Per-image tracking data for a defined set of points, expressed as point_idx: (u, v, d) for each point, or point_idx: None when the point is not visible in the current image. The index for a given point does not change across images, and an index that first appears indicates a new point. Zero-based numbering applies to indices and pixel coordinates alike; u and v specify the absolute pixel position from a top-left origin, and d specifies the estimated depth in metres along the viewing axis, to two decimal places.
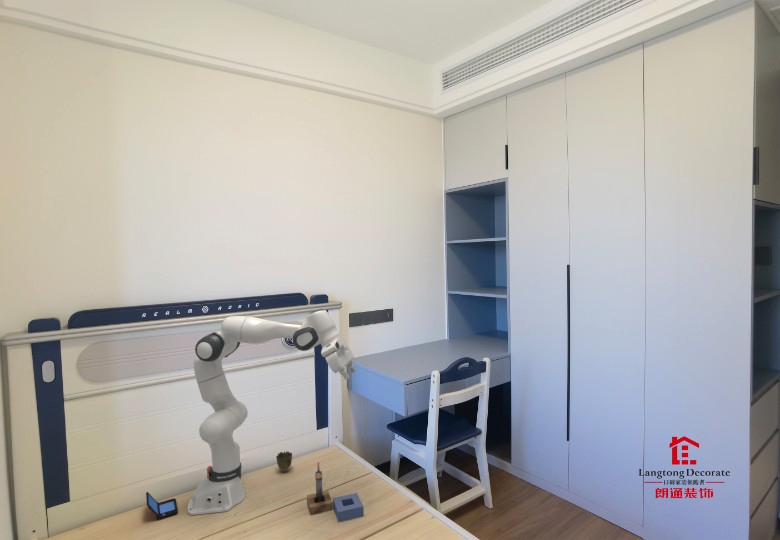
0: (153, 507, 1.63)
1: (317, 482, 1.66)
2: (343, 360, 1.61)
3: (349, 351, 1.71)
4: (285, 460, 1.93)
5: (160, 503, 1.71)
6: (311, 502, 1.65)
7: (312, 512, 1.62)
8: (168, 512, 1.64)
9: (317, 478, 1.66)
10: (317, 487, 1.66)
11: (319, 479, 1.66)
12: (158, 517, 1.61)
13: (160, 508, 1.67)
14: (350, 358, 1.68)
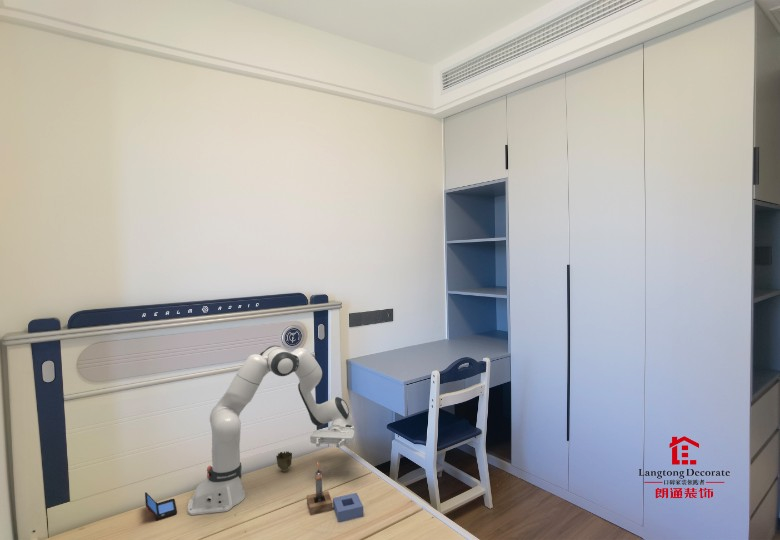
0: (152, 507, 1.63)
1: (317, 482, 1.66)
2: None
3: None
4: (285, 460, 1.93)
5: (159, 503, 1.71)
6: (311, 502, 1.65)
7: (312, 512, 1.62)
8: (167, 512, 1.64)
9: (317, 478, 1.66)
10: (317, 487, 1.66)
11: (319, 479, 1.66)
12: (157, 517, 1.61)
13: (159, 508, 1.67)
14: None
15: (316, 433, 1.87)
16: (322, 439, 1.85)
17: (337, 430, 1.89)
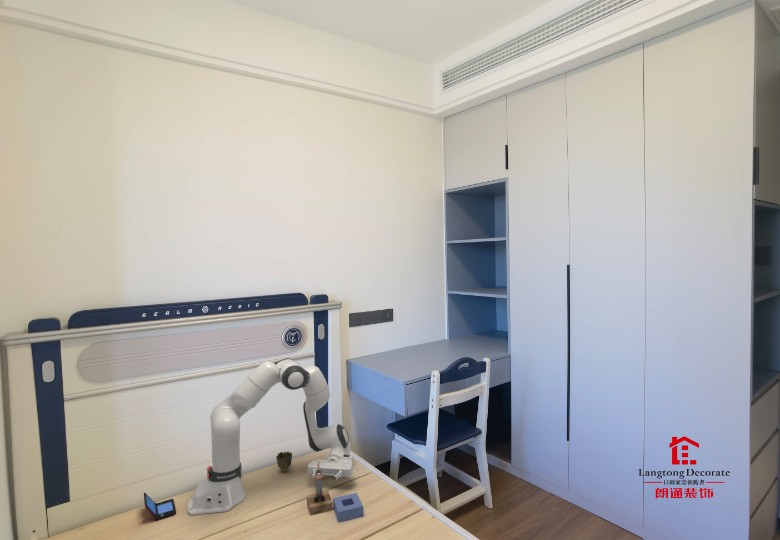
0: (151, 508, 1.63)
1: (317, 482, 1.66)
2: None
3: None
4: (285, 460, 1.93)
5: (158, 504, 1.70)
6: (311, 502, 1.65)
7: (312, 512, 1.62)
8: (166, 513, 1.64)
9: (317, 478, 1.66)
10: (317, 487, 1.66)
11: (319, 479, 1.66)
12: (156, 518, 1.60)
13: (158, 509, 1.67)
14: None
15: (313, 464, 1.83)
16: None
17: (335, 460, 1.85)
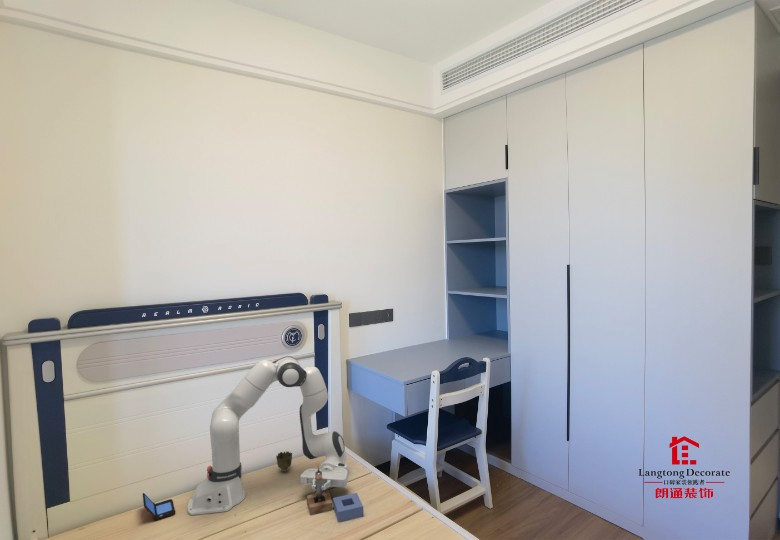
0: (150, 508, 1.62)
1: (317, 482, 1.66)
2: None
3: None
4: (285, 460, 1.93)
5: (157, 504, 1.70)
6: (311, 502, 1.65)
7: (312, 512, 1.62)
8: (165, 513, 1.64)
9: (317, 478, 1.66)
10: (317, 487, 1.66)
11: (319, 479, 1.66)
12: (155, 518, 1.60)
13: (157, 509, 1.67)
14: None
15: (306, 473, 1.74)
16: (313, 480, 1.72)
17: (329, 469, 1.76)
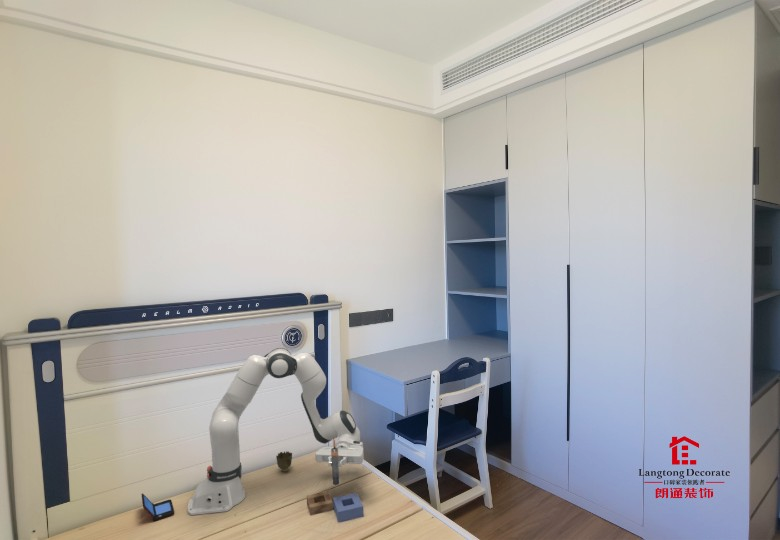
0: (149, 508, 1.62)
1: (333, 459, 1.63)
2: None
3: None
4: (285, 460, 1.93)
5: (156, 504, 1.70)
6: (311, 502, 1.65)
7: (312, 512, 1.62)
8: (164, 513, 1.64)
9: (333, 454, 1.63)
10: (333, 464, 1.64)
11: (335, 455, 1.63)
12: (154, 518, 1.60)
13: (156, 509, 1.66)
14: None
15: (321, 451, 1.72)
16: None
17: (344, 447, 1.74)
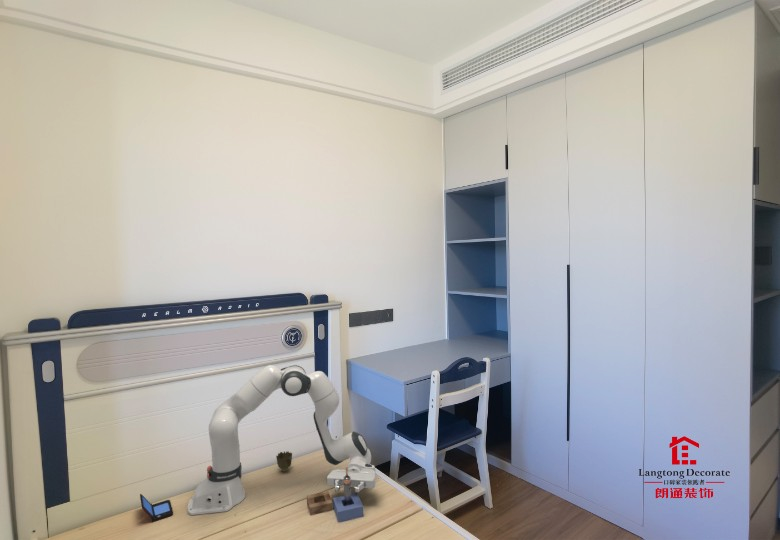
0: (148, 509, 1.62)
1: (346, 487, 1.62)
2: None
3: None
4: (285, 460, 1.93)
5: (154, 505, 1.70)
6: (311, 502, 1.65)
7: (312, 512, 1.62)
8: (163, 513, 1.63)
9: (346, 483, 1.61)
10: (346, 492, 1.62)
11: (348, 484, 1.61)
12: (153, 519, 1.60)
13: (154, 510, 1.66)
14: None
15: (333, 474, 1.70)
16: (340, 481, 1.68)
17: (356, 470, 1.72)
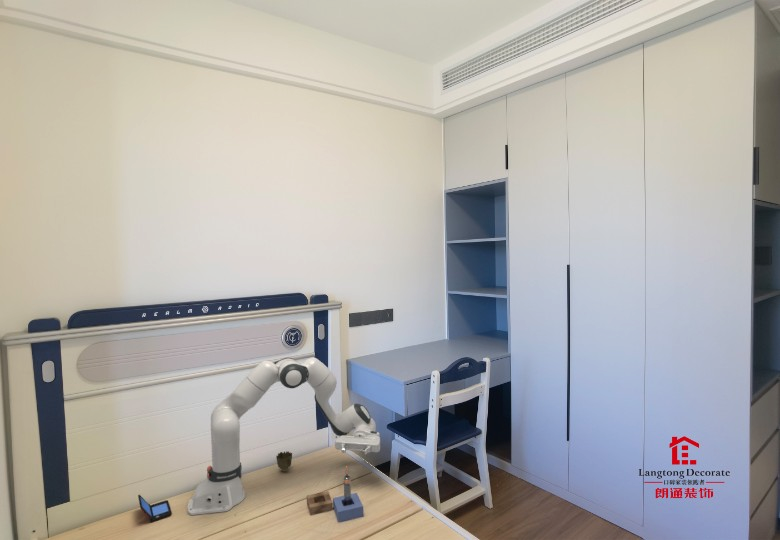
0: (146, 509, 1.62)
1: (346, 487, 1.62)
2: None
3: None
4: (285, 460, 1.93)
5: (152, 505, 1.69)
6: (311, 502, 1.65)
7: (312, 512, 1.62)
8: (162, 514, 1.63)
9: (346, 483, 1.61)
10: (346, 492, 1.62)
11: (348, 484, 1.61)
12: (152, 519, 1.60)
13: (153, 510, 1.66)
14: None
15: (341, 439, 1.83)
16: (347, 445, 1.80)
17: (362, 436, 1.84)
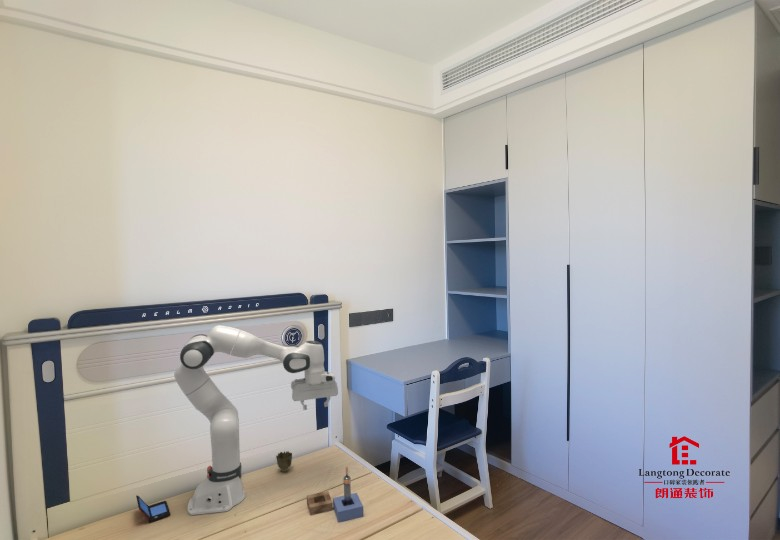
0: (145, 510, 1.61)
1: (346, 487, 1.62)
2: None
3: None
4: (285, 460, 1.93)
5: (150, 506, 1.69)
6: (311, 502, 1.65)
7: (312, 512, 1.62)
8: (160, 514, 1.63)
9: (346, 483, 1.61)
10: (346, 492, 1.62)
11: (348, 484, 1.61)
12: (150, 520, 1.59)
13: (151, 511, 1.65)
14: None
15: (298, 395, 1.78)
16: None
17: (318, 385, 1.80)
